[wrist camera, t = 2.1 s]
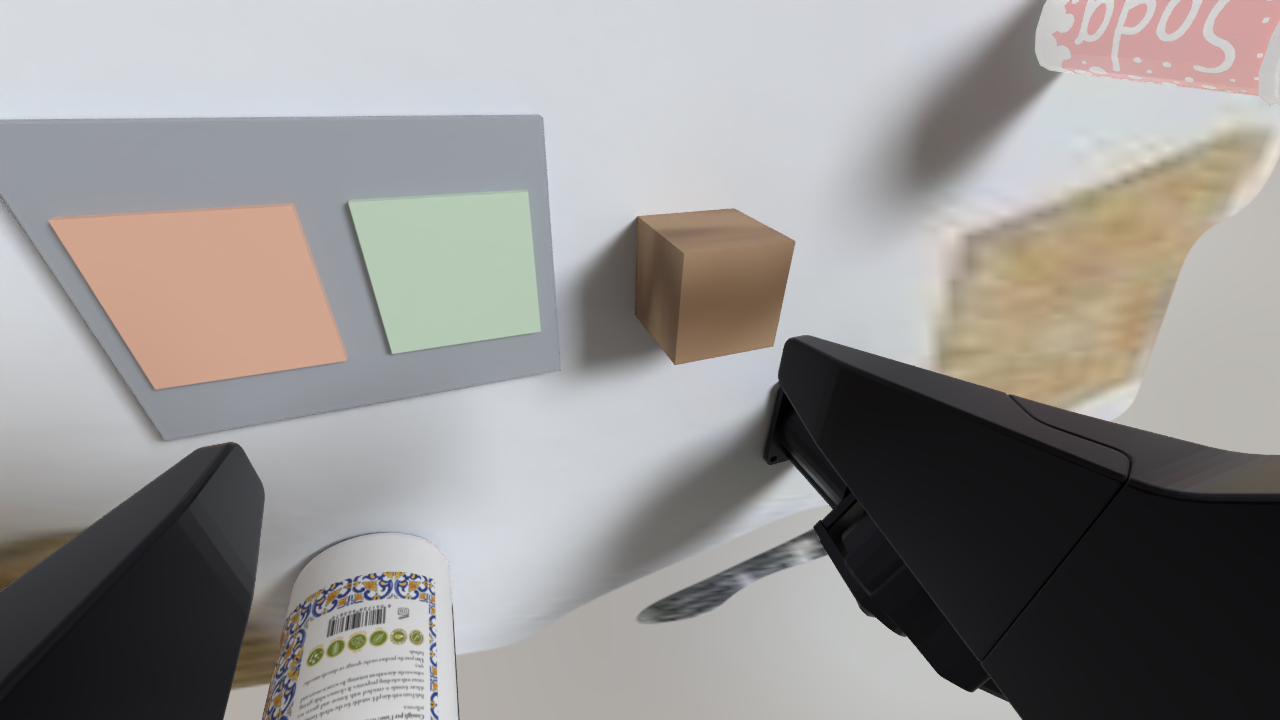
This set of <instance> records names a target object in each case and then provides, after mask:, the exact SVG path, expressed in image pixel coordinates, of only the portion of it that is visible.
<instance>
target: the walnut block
mask: <svg viewBox="0 0 1280 720" xmlns="http://www.w3.org/2000/svg"><path fill="white" fill-rule="evenodd" d="M794 246H795V241H794V240H792V239H790V238H789V237H787V236H785V235H783V234H781V233H779V232H777V231H775V230H774V229H772V228H770V227H768V226H766V225H764V224H762V223H760V222H759V221H757V220H755V219H753V218H751V217H749V216H747V215H745V214H744V213H742V212H740V211H738V210H736V209H721V210H709V211H697V212H684V213H672V214H659V215H647V216H638V226H637V262H636V298H635V315H636V316H637V318H638V319H639V320H640V321H641V323H642V324H643V325H644V327H645V328H646V329H647V330H648V332H649V333H650V334H651V335H652V337H653V338H654V339H655V340H656V342H657V343H658V344H659V346H660V347H661V348H662V349H663V351H664V352H665V353H666V354H667V356H668V357H669V358H670V359H671V361H672V362H673V363H674V365H678V364H683V363H688V362H694V361H699V360H704V359H709V358H715V357H720V356H725V355H730V354H736V353H741V352H746V351H751V350H757V349H762V348H767V347H773V346H774V341H775V336H776V331H777V327H778V322H779V317H780V312H781V307H782V303H783V298H784V293H785V288H786V284H787V279H788V274H789V269H790V265H791V260H792V255H793V250H794Z"/></svg>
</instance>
